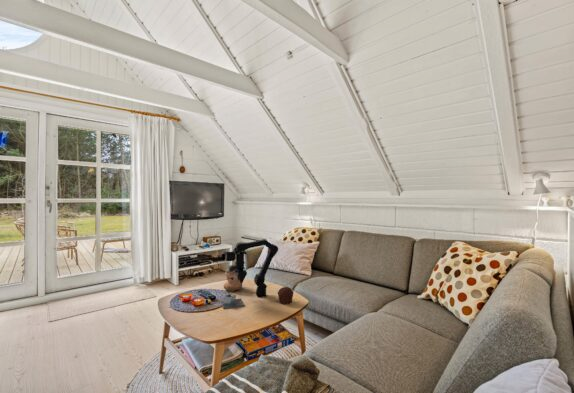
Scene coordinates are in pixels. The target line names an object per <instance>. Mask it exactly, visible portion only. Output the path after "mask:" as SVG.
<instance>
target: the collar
mask: <svg viewBox="0 0 574 393" xmlns="http://www.w3.org/2000/svg"><path fill="white" fill-rule="evenodd" d="M236 299H237V295H236V294H231V293H227V294H225V295H223V297H222V301H223V304H226V305H232V304H234V303H236Z"/></svg>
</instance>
